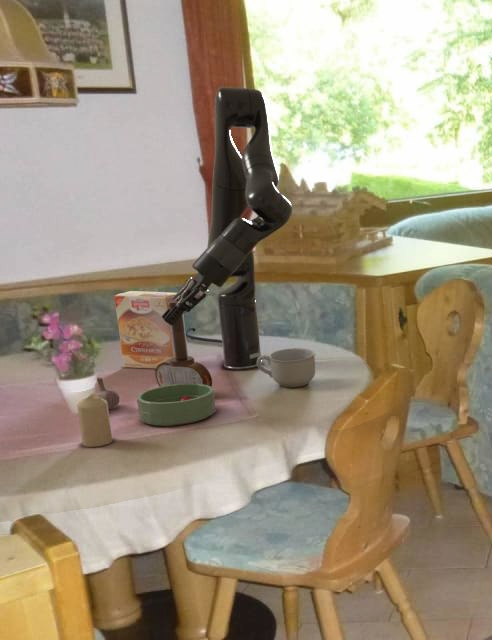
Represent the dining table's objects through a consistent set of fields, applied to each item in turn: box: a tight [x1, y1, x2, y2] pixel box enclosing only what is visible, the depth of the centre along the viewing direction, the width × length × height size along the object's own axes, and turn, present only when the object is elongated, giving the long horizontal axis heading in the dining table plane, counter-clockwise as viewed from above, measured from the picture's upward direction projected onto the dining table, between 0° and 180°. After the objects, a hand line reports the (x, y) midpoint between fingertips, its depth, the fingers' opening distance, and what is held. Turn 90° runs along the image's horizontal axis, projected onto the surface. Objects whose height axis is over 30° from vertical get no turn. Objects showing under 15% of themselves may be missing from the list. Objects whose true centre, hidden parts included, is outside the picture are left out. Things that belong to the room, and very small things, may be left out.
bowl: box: [136, 383, 217, 427], centre depth 228 cm, size 16×16×6 cm
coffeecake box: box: [114, 290, 189, 370], centre depth 269 cm, size 15×7×20 cm, turn 81°
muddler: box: [169, 301, 196, 367], centre depth 223 cm, size 5×5×14 cm
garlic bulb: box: [89, 376, 120, 411], centre depth 233 cm, size 8×7×8 cm
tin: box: [154, 359, 213, 387], centre depth 244 cm, size 15×3×8 cm, turn 71°
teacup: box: [257, 347, 316, 388], centre depth 254 cm, size 14×11×8 cm
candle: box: [76, 394, 113, 448], centre depth 211 cm, size 6×6×10 cm
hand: (166, 321), depth 221 cm, fingers closed on muddler, 2 cm apart
